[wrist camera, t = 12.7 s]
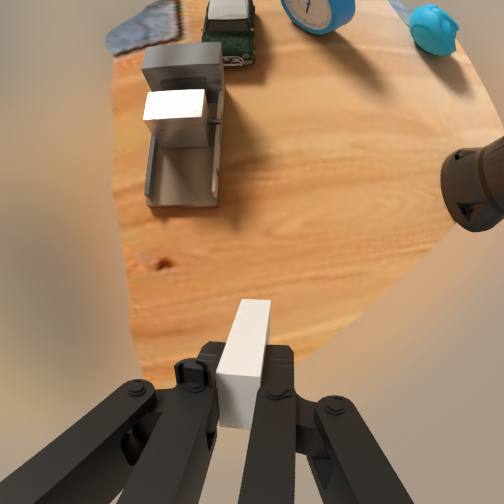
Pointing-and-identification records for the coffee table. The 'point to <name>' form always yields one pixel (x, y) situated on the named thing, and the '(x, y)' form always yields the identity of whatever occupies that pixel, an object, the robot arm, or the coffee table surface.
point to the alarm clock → (319, 14)
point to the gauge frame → (188, 158)
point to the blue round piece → (433, 30)
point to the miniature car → (231, 29)
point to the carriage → (179, 118)
